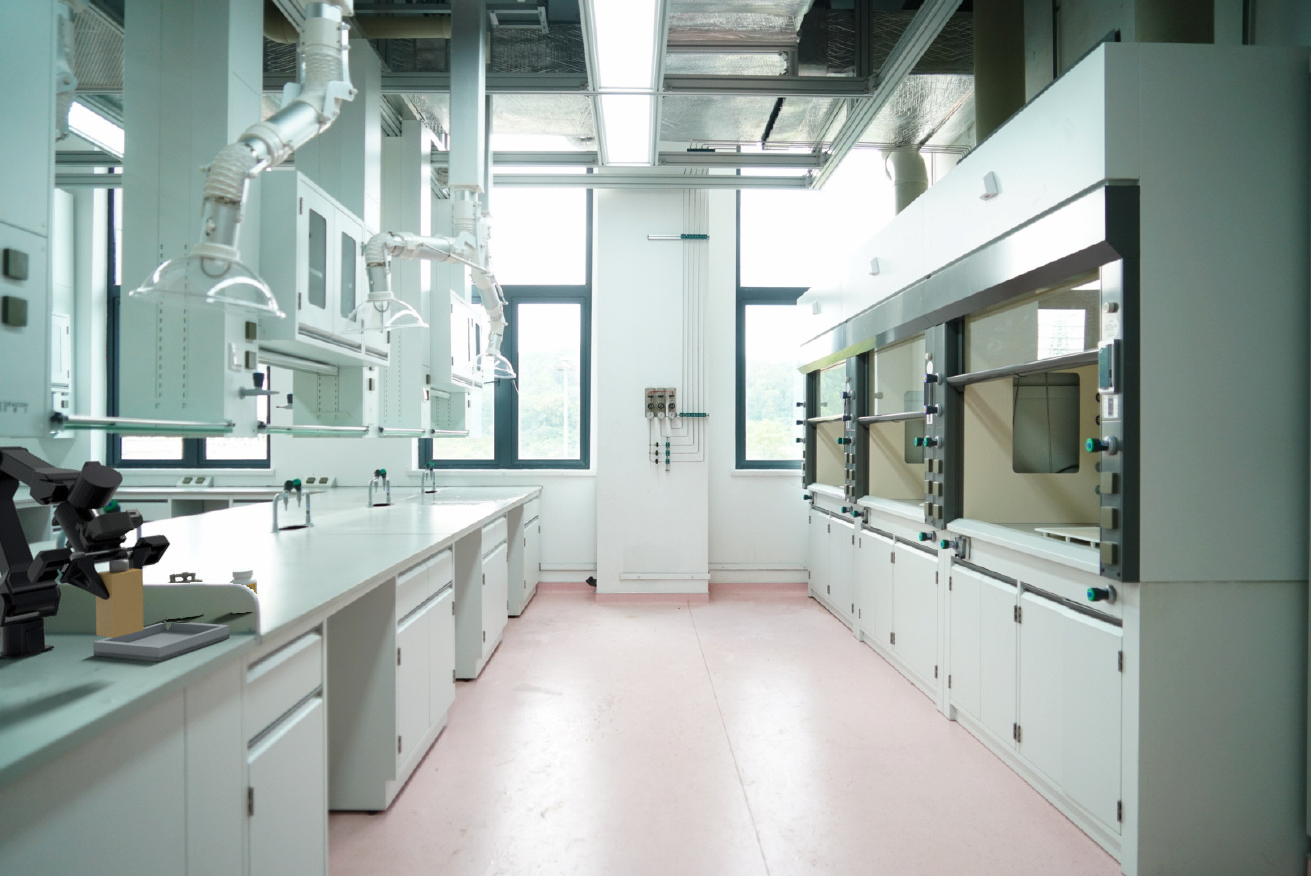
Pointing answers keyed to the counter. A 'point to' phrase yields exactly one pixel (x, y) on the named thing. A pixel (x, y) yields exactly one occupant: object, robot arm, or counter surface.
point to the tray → (161, 641)
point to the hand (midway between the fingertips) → (124, 594)
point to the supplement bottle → (245, 578)
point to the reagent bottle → (120, 601)
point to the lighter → (184, 578)
